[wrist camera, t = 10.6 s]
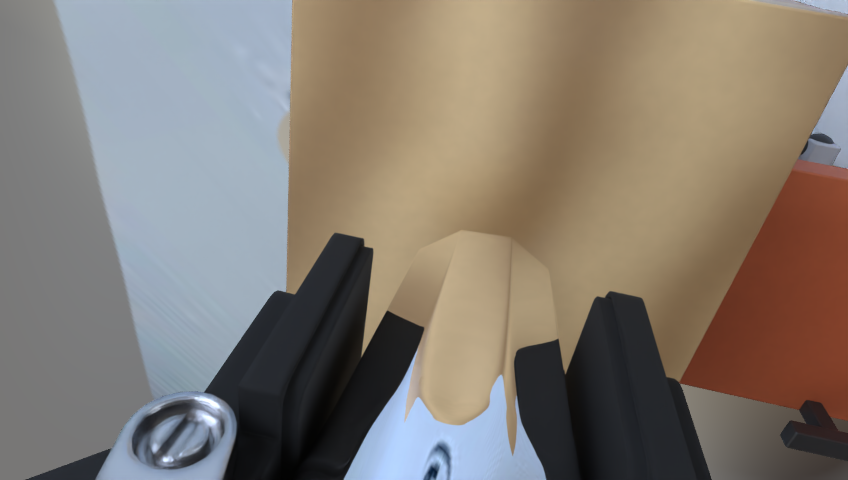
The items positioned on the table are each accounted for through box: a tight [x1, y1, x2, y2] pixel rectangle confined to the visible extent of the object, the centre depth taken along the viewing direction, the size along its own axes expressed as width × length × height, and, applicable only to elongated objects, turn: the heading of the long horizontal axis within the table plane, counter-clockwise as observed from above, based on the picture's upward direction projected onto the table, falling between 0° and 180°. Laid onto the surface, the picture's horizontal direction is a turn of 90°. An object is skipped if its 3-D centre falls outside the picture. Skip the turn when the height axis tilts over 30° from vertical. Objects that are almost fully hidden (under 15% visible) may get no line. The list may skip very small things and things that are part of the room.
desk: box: [286, 0, 848, 382], centre depth 20 cm, size 11×18×12 cm, turn 171°
